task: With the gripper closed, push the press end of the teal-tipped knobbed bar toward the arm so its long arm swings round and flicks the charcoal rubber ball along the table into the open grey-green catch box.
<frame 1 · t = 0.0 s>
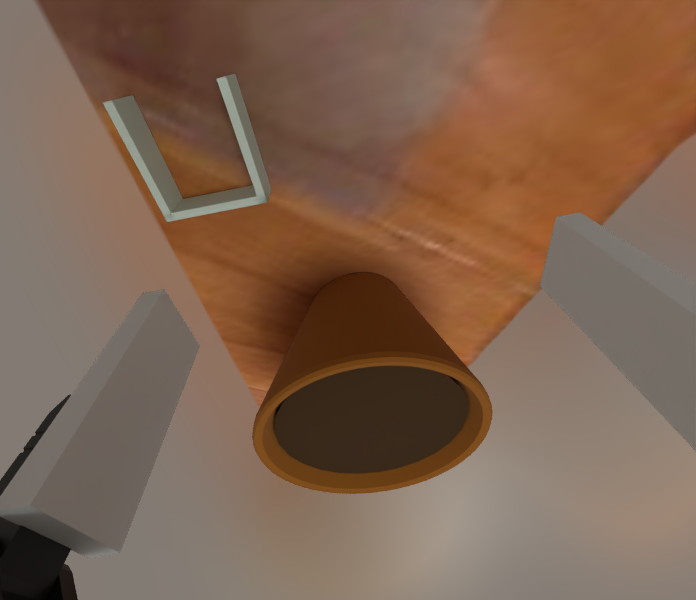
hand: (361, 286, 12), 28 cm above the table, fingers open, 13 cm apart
flower pot: (354, 312, 49), on the table
catch box: (204, 147, 34), on the table
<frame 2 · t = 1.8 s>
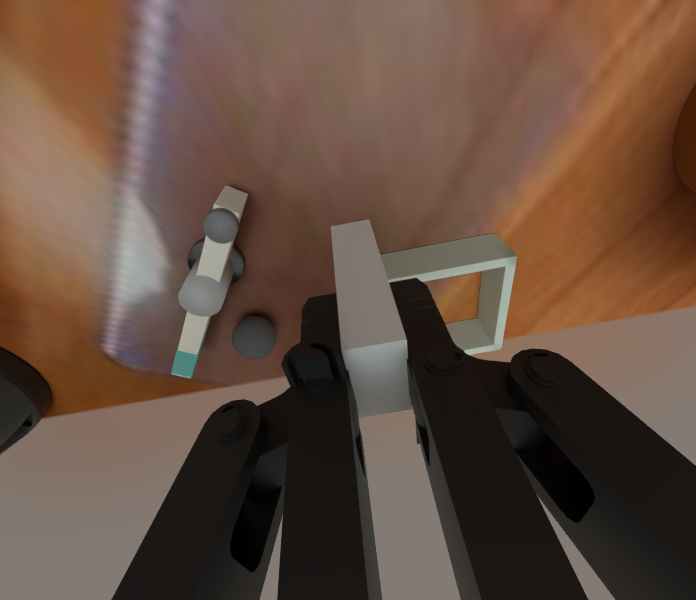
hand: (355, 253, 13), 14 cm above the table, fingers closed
ball: (257, 323, 33), on the table
pivot base: (217, 260, 28), on the table
catch box: (433, 292, 32), on the table
teal-tipped knobbed bar: (204, 296, 26), point 3 cm above the table, hinge at 0.0°
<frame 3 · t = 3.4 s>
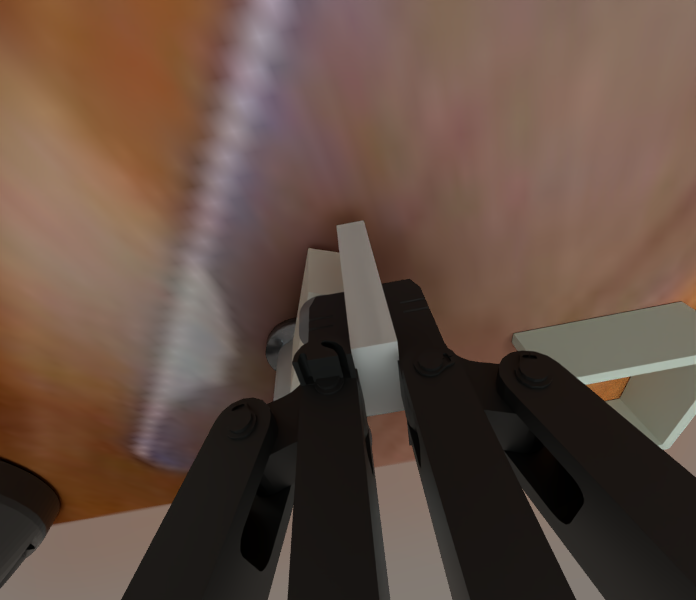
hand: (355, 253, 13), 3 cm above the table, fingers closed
pivot base: (304, 345, 20), on the table
catch box: (576, 372, 24), on the table
teal-tipped knobbed bar: (299, 406, 18), point 3 cm above the table, hinge at 13.2°, touching gripper
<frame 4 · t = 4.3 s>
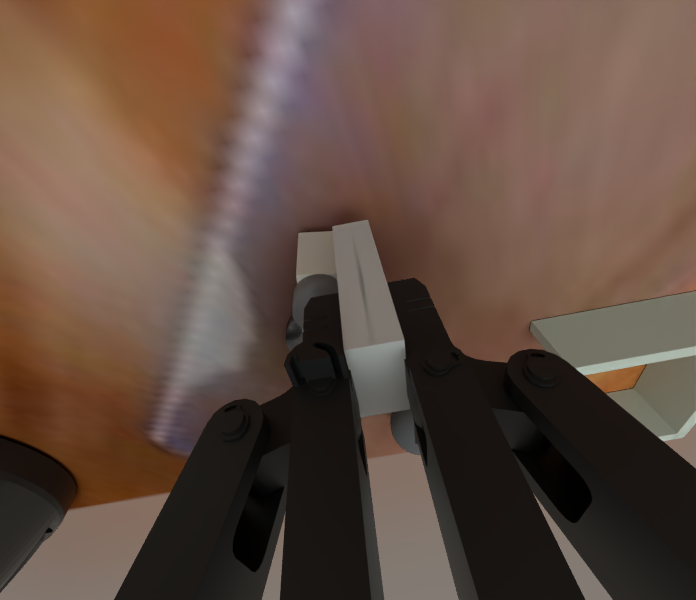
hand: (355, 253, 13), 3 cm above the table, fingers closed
ball: (398, 439, 22), point 3 cm above the table, tilted 122°
pivot base: (323, 331, 20), on the table
catch box: (592, 361, 24), on the table
teal-tipped knobbed bar: (326, 391, 18), point 3 cm above the table, hinge at 26.1°, touching gripper
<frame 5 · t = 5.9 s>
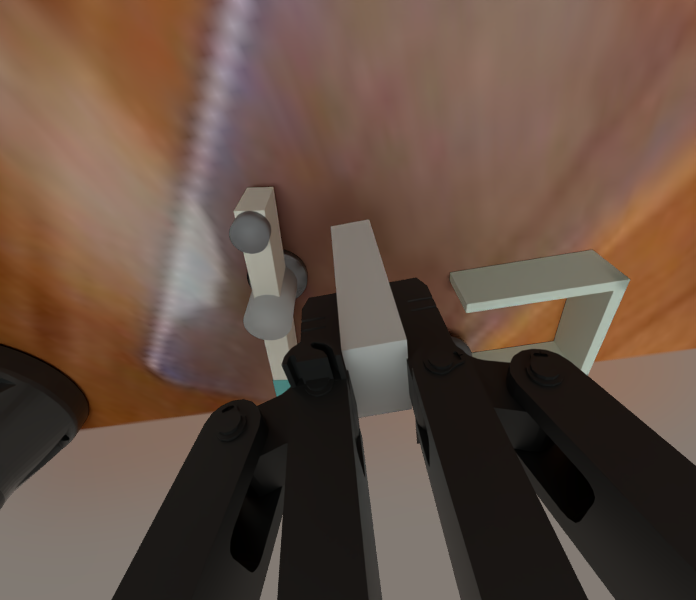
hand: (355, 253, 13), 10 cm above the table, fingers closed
ball: (448, 344, 31), on the table, tilted 17°
pivot base: (278, 274, 25), on the table
catch box: (510, 312, 29), on the table
teal-tipped knobbed bar: (276, 317, 24), point 3 cm above the table, hinge at 26.4°
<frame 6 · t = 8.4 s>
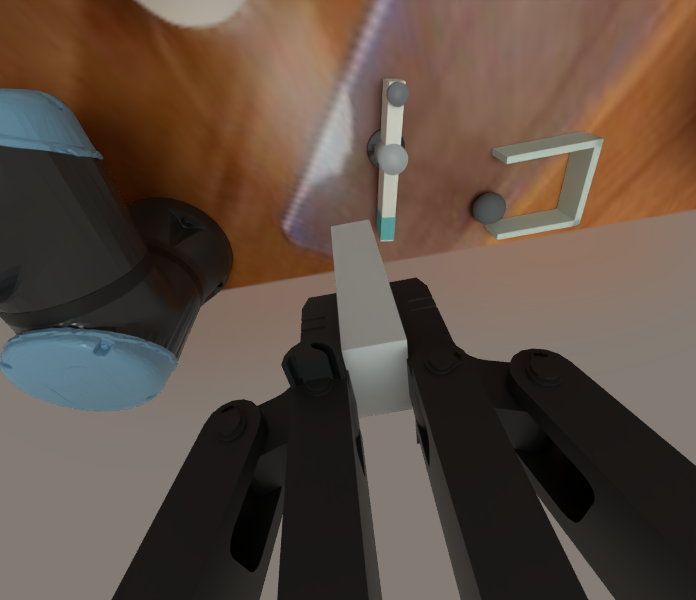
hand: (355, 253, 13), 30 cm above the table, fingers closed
ball: (487, 209, 45), on the table, tilted 36°
pivot base: (385, 148, 40), on the table
catch box: (529, 182, 44), on the table
teal-tipped knobbed bar: (389, 169, 38), point 3 cm above the table, hinge at 26.4°
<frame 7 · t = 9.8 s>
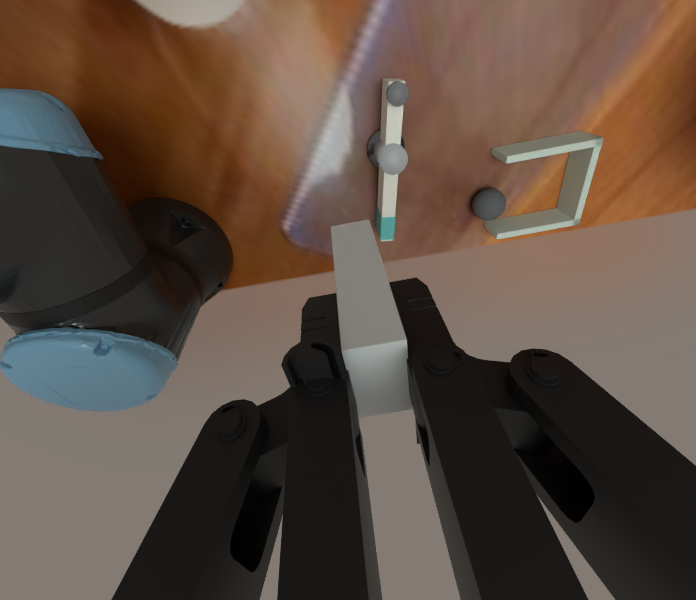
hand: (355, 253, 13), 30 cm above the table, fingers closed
ball: (488, 209, 45), point 1 cm above the table, tilted 49°
pivot base: (385, 147, 40), on the table
catch box: (528, 182, 44), on the table
teal-tipped knobbed bar: (389, 168, 38), point 3 cm above the table, hinge at 26.4°
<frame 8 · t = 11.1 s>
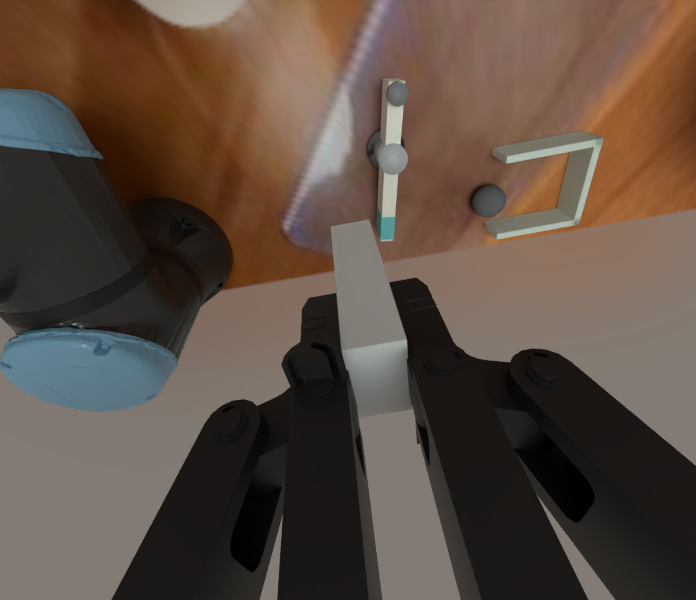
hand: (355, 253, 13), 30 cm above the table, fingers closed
ball: (489, 209, 44), point 1 cm above the table, tilted 61°
pivot base: (385, 147, 40), on the table
catch box: (528, 182, 44), on the table
teal-tipped knobbed bar: (389, 168, 38), point 3 cm above the table, hinge at 26.4°
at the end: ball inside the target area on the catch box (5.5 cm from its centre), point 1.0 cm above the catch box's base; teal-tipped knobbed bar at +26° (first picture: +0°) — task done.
